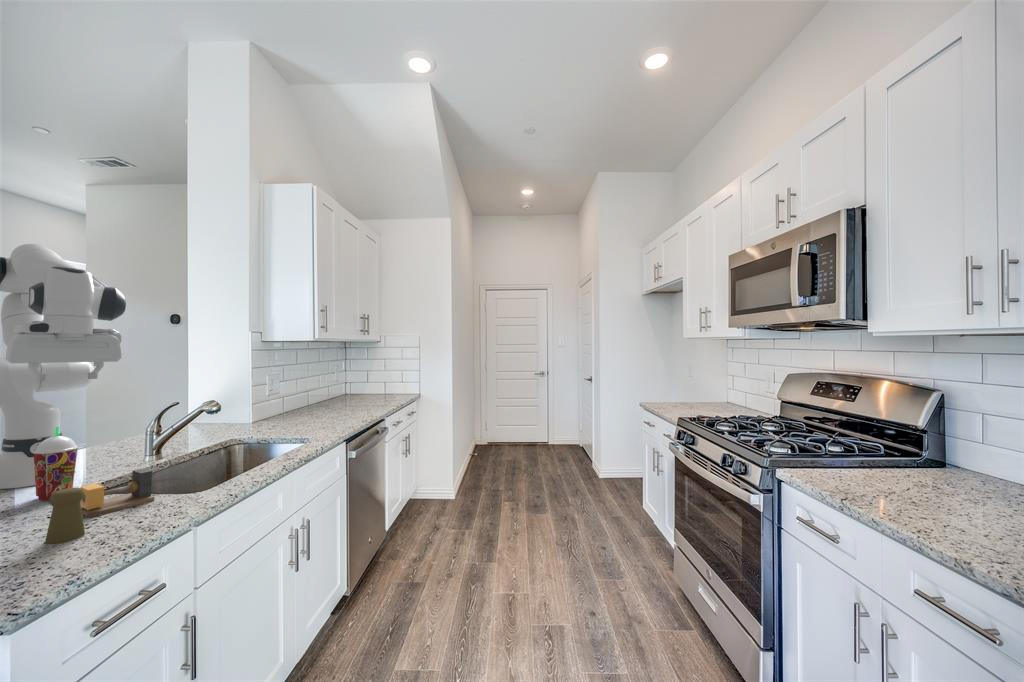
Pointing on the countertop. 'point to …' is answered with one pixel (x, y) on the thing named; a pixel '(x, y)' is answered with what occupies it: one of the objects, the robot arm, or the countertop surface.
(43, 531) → the countertop surface
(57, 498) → the cork
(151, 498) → the sliding block toy
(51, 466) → the smoothie
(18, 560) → the countertop surface
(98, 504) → the sleeve
